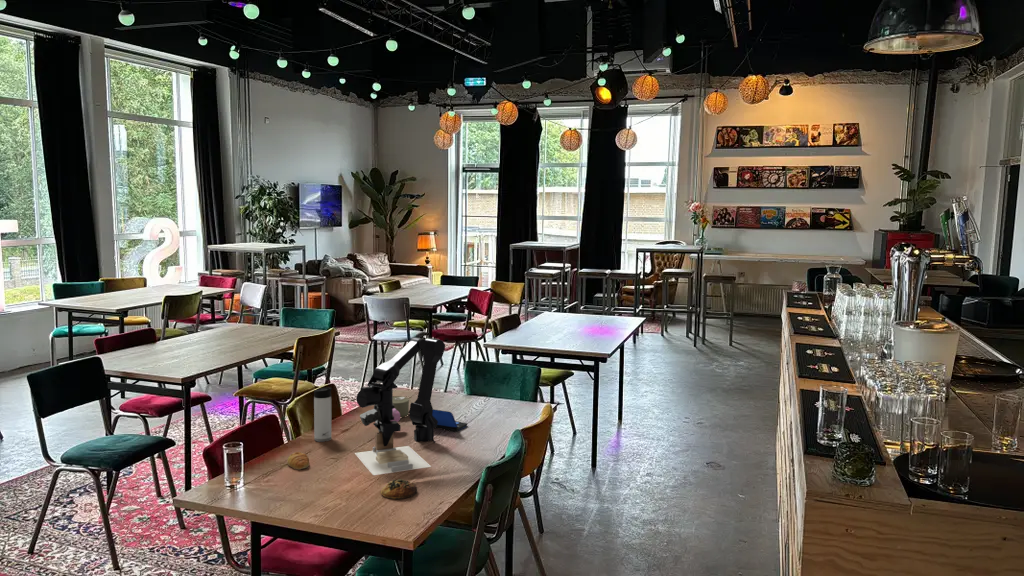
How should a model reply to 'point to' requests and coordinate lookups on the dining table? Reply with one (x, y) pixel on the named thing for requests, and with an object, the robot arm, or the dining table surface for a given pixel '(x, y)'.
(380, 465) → the rack
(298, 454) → the pastry
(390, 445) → the walnut panel
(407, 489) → the bread roll
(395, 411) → the cupcake
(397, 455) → the offcut stack
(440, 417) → the handheld game console
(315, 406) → the travel mug
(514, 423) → the dining table surface
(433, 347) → the robot arm
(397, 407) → the can
